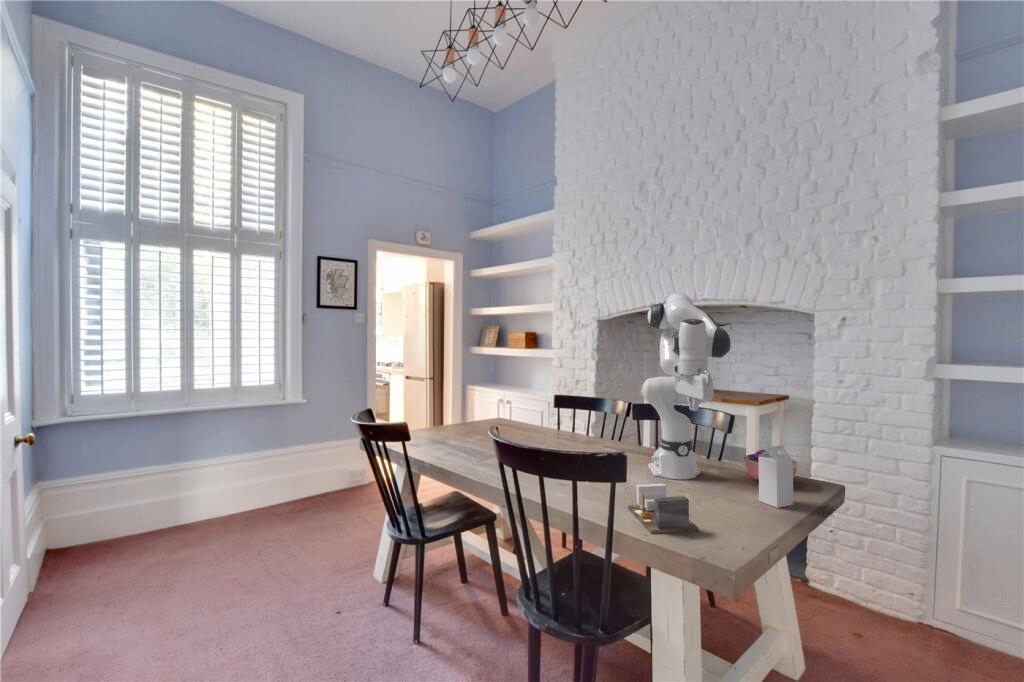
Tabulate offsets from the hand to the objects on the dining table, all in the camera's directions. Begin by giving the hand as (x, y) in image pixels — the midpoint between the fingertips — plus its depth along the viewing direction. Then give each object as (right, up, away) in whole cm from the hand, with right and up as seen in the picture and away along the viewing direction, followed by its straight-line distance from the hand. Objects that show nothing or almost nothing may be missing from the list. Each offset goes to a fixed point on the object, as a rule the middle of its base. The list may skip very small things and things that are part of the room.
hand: (693, 410), depth 158 cm
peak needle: (-19, -30, -12) cm, 38 cm away
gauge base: (-14, -32, -11) cm, 36 cm away
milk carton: (+27, -31, 0) cm, 41 cm away
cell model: (+37, -30, +22) cm, 52 cm away
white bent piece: (-15, -30, -7) cm, 34 cm away
